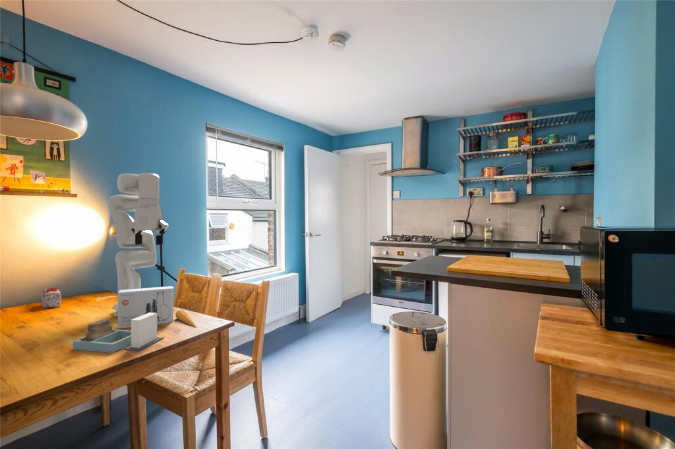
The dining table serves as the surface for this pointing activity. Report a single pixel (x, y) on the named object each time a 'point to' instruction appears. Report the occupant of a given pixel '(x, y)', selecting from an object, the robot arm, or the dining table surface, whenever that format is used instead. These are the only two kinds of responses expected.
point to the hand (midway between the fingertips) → (149, 244)
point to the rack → (105, 342)
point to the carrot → (184, 317)
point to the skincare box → (145, 304)
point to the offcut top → (98, 325)
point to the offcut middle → (98, 333)
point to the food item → (51, 298)
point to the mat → (144, 345)
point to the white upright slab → (143, 329)
